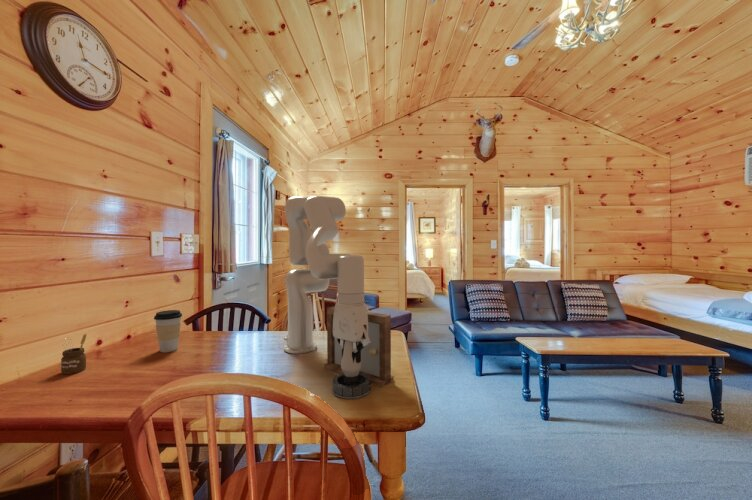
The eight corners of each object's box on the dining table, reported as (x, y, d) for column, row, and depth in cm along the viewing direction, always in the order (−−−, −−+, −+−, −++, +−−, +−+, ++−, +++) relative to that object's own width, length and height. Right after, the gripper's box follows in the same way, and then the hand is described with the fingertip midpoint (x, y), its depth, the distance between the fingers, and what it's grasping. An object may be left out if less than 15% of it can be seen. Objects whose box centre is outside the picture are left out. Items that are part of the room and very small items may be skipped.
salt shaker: (358, 379, 85) (358, 331, 85) (338, 377, 86) (338, 330, 86) (363, 370, 91) (363, 326, 90) (344, 369, 92) (344, 325, 92)
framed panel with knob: (324, 367, 104) (323, 308, 104) (336, 362, 109) (336, 305, 109) (382, 387, 90) (381, 318, 90) (393, 380, 95) (393, 314, 94)
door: (331, 364, 103) (331, 316, 103) (337, 361, 106) (337, 314, 106) (377, 379, 92) (377, 324, 92) (383, 375, 94) (383, 322, 94)
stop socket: (323, 391, 87) (323, 381, 87) (349, 378, 96) (349, 368, 96) (353, 403, 81) (353, 392, 81) (378, 387, 89) (378, 377, 89)
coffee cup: (172, 353, 119) (172, 314, 118) (148, 353, 119) (147, 314, 119) (187, 346, 128) (187, 309, 128) (165, 346, 128) (164, 309, 128)
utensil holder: (69, 368, 105) (68, 333, 104) (91, 366, 106) (91, 331, 106) (55, 375, 99) (55, 338, 99) (79, 373, 100) (79, 336, 100)
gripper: (321, 297, 90) (321, 361, 90) (365, 303, 80) (365, 374, 80) (339, 294, 96) (339, 353, 96) (382, 299, 86) (382, 366, 86)
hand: (351, 362), depth 88 cm, fingers closed on salt shaker, 3 cm apart
